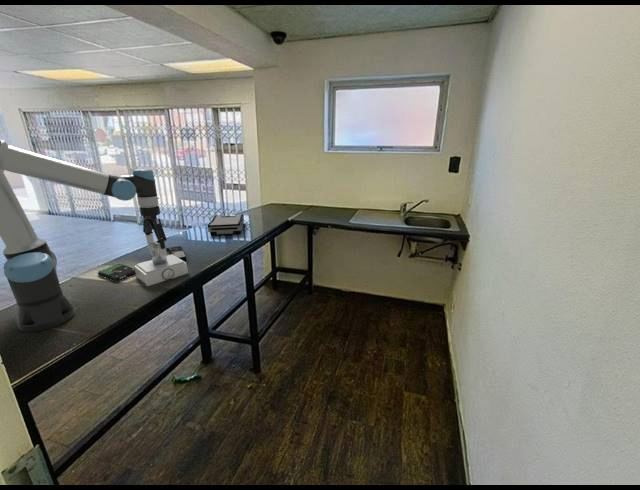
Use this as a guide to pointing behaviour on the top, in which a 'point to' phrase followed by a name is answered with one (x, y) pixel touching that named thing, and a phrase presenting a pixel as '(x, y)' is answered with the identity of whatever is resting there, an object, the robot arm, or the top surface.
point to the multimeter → (176, 252)
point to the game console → (226, 225)
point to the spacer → (156, 254)
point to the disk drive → (117, 272)
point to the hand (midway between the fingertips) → (157, 251)
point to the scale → (160, 270)
